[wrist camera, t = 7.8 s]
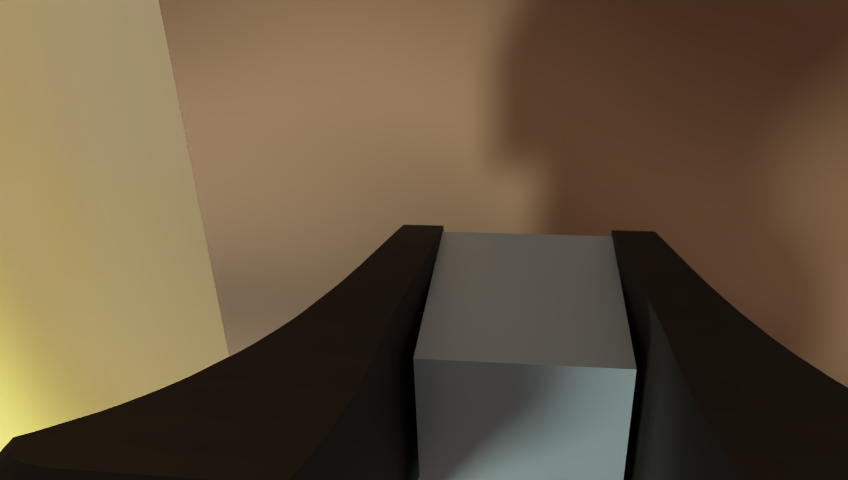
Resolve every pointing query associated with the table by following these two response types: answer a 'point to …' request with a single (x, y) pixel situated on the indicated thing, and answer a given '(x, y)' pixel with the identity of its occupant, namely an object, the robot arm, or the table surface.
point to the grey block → (524, 360)
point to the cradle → (522, 141)
